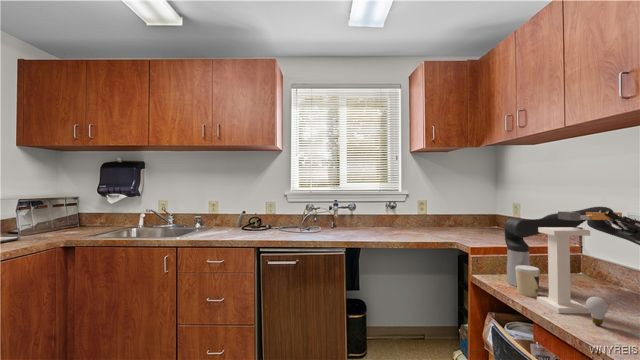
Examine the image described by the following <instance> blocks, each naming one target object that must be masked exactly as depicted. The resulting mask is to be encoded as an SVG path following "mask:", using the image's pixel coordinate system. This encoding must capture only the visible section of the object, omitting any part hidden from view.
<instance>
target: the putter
mask: <svg viewBox="0 0 640 360" xmlns="http://www.w3.org/2000/svg"><path fill="white" fill-rule="evenodd" d="M557 213H558V219H564V220H570V221H574V220H586V221H587V220H613V219H612V218H610V217H608V216H606V213H607V212H586V215H580V213H576V212H572V211H558V212H557ZM613 213H615V214H617V215H621V216H622V217H623V212H617V211H613Z"/></svg>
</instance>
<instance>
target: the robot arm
mask: <svg viewBox="0 0 640 360" xmlns="http://www.w3.org/2000/svg"><path fill="white" fill-rule="evenodd" d="M571 212H576V213H580V215H586V212H607V213H606V216H608V217H610V218H612V219H613V220H574V221H570V220H564V219H558V212H557V213H556V212H555V213H551V214H547V215H545V216H543V217H542V218H534V219H531V218H530V219H529V218H528V219H526V218H521V217H520V218H518V217H510V218H508V219H506V221H505V223H504V240H505V245H506V248H507V249H506V251H507V254H506V255H507V263H506V282H507V284H508V285H510V286H513V287H514V286H515V287H517V280H516V269H515V267H516V266H517V265H527V266H530V246H529V245H528V243H527V242H525V240H524V239H525V238H528V237H529V238H530V237H532V236H533V237H534V236H537V235H540V234H543V233H540V232H538V227H572V228H577V227H579V226H580V225H582V224H583V223H584V222H586V224H587V225H588V227H590V228H591V229H594V230H596V231H598V232H602V233H605V234H608V235H610V236H614V237H617V238H620V239H623V240H625V241H628V242H631V243H633V244H636V245H638V246H640V220H637V219H633V218H630V217H628V216H624V215H622V216H621V215H617V214H615V213H613V212H614V210H613V209H612V208H611V207H606V206H592V207H588V208H583V209H579V210H574V211H573V210H572V211H571ZM613 225H614V226H615V227H614V226H613Z"/></svg>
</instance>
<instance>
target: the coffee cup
mask: <svg viewBox="0 0 640 360" xmlns="http://www.w3.org/2000/svg"><path fill="white" fill-rule="evenodd" d="M515 269H516V280H517V286H516V288H517V294H519V295H520V296H524V297H530V298H537V297H539V287H540V272H541V270H540V268H538V267H535V266H534V265H533V266H532V265H529V266H527V265H517V266H516V267H515Z"/></svg>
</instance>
